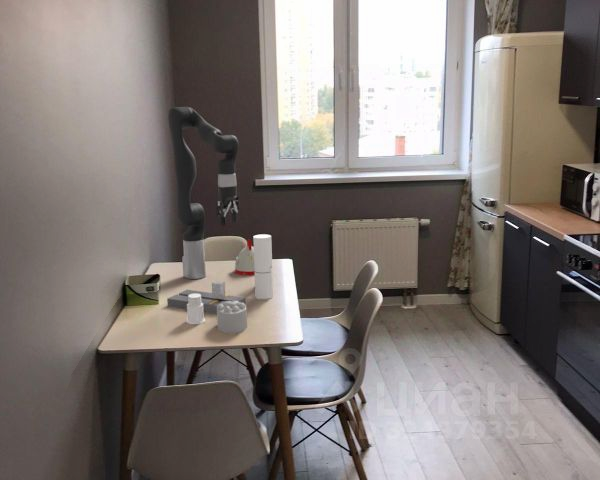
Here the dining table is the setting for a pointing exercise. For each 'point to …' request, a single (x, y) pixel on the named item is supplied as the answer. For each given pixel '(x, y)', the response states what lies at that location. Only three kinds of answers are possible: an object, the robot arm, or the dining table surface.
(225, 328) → the lumpy-topped squat cylinder
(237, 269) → the kitchen timer
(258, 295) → the cylindrical container
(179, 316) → the dining table surface
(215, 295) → the fader knob
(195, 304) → the downlight
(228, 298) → the fader console
